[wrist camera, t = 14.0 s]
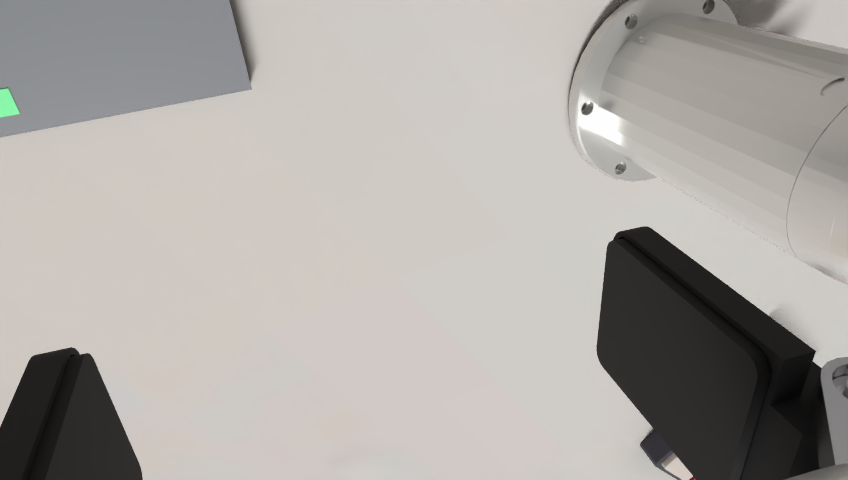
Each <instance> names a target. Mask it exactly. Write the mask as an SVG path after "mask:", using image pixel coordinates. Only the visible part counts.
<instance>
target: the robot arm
mask: <svg viewBox="0 0 848 480" xmlns="http://www.w3.org/2000/svg"><path fill="white" fill-rule="evenodd" d="M569 120H570V129H571V132H572V135H573V138H574V141H575V144H576V146H577V147H578V149H579V151H580V153H581V154H582V156H583V157H584V158H585V159H586V160H587V161H588V162H589V163H590V164H591V165H592V166H593V167H595V168H596V169H598V170H599V171H601V172H602V173H604V174H605V175H607V176H609V177H612V178H614V179H617V180H623V181H629V182H636V181H647V180H650V179H654V178H660V179H661V180H663V181H665V182H666V183H668V184H670V185H672V186H673V187H675V188H677V189H678V190H680V191H682V192H684V193H685V194H687V195H689V196H690V197H692V198H694V199H696V200H697V201H699V202H701V203H703V204H704V205H706V206H708V207H709V208H711V209H713V210H715V211H716V212H718V213H720V214H721V215H723V216H725V217H727V218H728V219H730V220H732V221H733V222H735V223H737V224H739V225H740V226H742V227H744V228H745V229H747V230H749V231H751V232H752V233H754V234H756V235H757V236H759V237H761V238H763V239H764V240H766V241H768V242H769V243H771V244H773V245H775V246H776V247H778V248H780V249H781V250H783V251H785V252H787V253H788V254H790V255H792V256H794V257H795V258H797V259H799V260H800V261H802V262H804V263H806V264H808V265H810V266H811V267H813V268H815V269H817V270H818V271H820V272H822V273H824V274H825V275H827V276H829V277H831V278H833V279H836V280H838V281H840V282H842V283H845V284H848V49H845V48H841V47H836V46H832V45H827V44H822V43H818V42H813V41H809V40H804V39H800V38H795V37H790V36H786V35H781V34H777V33H772V32H768V31H763V30H758V29H754V28H749V27H745V26H740V25H738V22H737V19H736V17H735V15H734V14H733V12H732V11H731V9H730V7H729V6H728V5H727V4H726V3H725V2H724V1H723V0H628V1H627V2H625V3H624V4H622V5H621V6H620V7H619V8H618V9H616V10H615V11H614V12H613V13H612V14H611V15H610V16H609V17H608V18H607V19H606V20H605V21H604V22H603V24H602V25H601V26H600V27H599V29H598V30H597V31H596V32H595V34H594V35H593V36H592V38H591V40H590V41H589V43H588V45H587V46H586V48H585V50H584V52H583V53H582V55H581V58H580V60H579V63H578V65H577V68H576V70H575V73H574V77H573V81H572V85H571V90H570V96H569ZM815 352H816V351H815V350H813V349H812V348H811V347H809V346H808V345H807V344H805V343H804V342H803V341H801V340H800V339H799V338H797V337H796V336H795V335H793V334H792V333H791V332H789V331H788V330H787V329H785V328H784V327H783V326H781V325H780V324H779V323H777V322H776V321H775V320H773V319H772V318H771V317H769V316H768V315H767V314H765V313H764V312H763V311H761V310H760V309H759V308H757V307H756V306H754V305H753V304H752V303H750V302H749V301H748V300H746V299H745V298H744V297H742V296H741V295H740V294H738V293H737V292H736V291H734V290H733V289H732V288H730V287H729V286H728V285H726V284H725V283H724V282H722V281H721V280H720V279H718V278H717V277H716V276H714V275H713V274H712V273H710V272H709V271H708V270H706V269H705V268H704V267H702V266H701V265H700V264H698V263H697V262H696V261H694V260H693V259H691V258H690V257H689V256H687V255H686V254H685V253H683V252H682V251H681V250H679V249H678V248H677V247H675V246H674V245H673V244H671V243H670V242H669V241H667V240H666V239H665V238H663V237H662V236H661V235H659V234H658V233H657V232H655V231H654V230H653V229H651V228H649V227H639V228H635V229H630V230H625V231H620V232H618V233H617V234H616V235H615V237H614V240H613V241H611V242H609V244H608V246H607V253H606V262H605V272H604V282H603V291H602V301H601V311H600V320H599V330H598V339H597V355H598V359H599V361H600V363H601V365H602V366H603V368H604V369H605V370H606V371H607V373H608V374H609V375H610V376H611V378H612V379H613V380H614V381H615V382H616V384H617V385H618V386H619V387H620V388H621V390H622V391H623V392H624V393H625V394H626V396H627V397H628V398H629V399H630V400H631V402H632V403H633V404H634V405H635V407H636V408H637V409H638V410H639V411H640V413H641V414H642V415H643V416H644V417H645V419H646V420H647V421H648V422H649V423H650V425H651V426H652V427H653V428H654V429H655V431H656V432H657V433H658V434H659V435H660V437H661V438H662V439H663V440H664V442H665V443H666V444H667V445H668V446H669V448H670V449H671V450H672V451H673V452H674V454H675V455H676V456H677V457H678V458H679V460H680V461H681V462H682V463H683V464H684V466H685V467H686V468H687V469H688V471H689V472H690V473H691V474H692V475H693V477H694V478H695V479H696V480H848V357H844V358H837V359H834V360H831V361H829V362H827V363H826V364H825V365H824V366H823V368H820V367H819V366H818V365H816V364H815V363H814V362H813V358H814V355H815ZM0 480H142V472H141V468H140V465H139V462H138V460H137V458H136V455H135V453H134V451H133V449H132V446H131V444H130V442H129V439H128V437H127V435H126V432H125V430H124V428H123V426H122V423H121V421H120V419H119V416H118V414H117V412H116V410H115V407H114V405H113V403H112V400H111V398H110V396H109V393H108V391H107V389H106V387H105V384H104V382H103V380H102V377H101V375H100V373H99V371H98V368H97V366H96V364H95V361H94V359H93V357H92V356H91V355H90V354H88V353H86V354H81V355H80V354H79V352H78V351H77V350H76V349H75V348H72V347H71V348H67V349H62V350H57V351H52V352H48V353H43V354H38V355H34V356H32V357H31V359H30V360H29V362H28V364H27V367H26V369H25V371H24V374H23V376H22V378H21V381H20V383H19V385H18V387H17V390H16V392H15V394H14V397H13V399H12V401H11V404H10V406H9V408H8V411H7V413H6V415H5V417H4V420H3V422H2V424H1V427H0Z"/></svg>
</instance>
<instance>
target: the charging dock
mask: <svg viewBox="0 0 848 480" xmlns="http://www.w3.org/2000/svg"><path fill="white" fill-rule="evenodd" d="M251 89H252V88H251V84H250V80H249V76H248V72H247V68H246V64H245V60H244V56H243V52H242V48H241V44H240V40H239V37H238V33H237V29H236V25H235V21H234V17H233V13H232V9H231V5H230V1H229V0H0V137H5V136H10V135H15V134H21V133H26V132H31V131H36V130H42V129H47V128H52V127H57V126H63V125H68V124H73V123H78V122H83V121H89V120H94V119H99V118H104V117H110V116H115V115H120V114H125V113H130V112H136V111H141V110H146V109H151V108H157V107H162V106H167V105H172V104H177V103H183V102H188V101H193V100H198V99H204V98H209V97H214V96H219V95H225V94H230V93H235V92H240V91H245V90H251Z"/></svg>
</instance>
